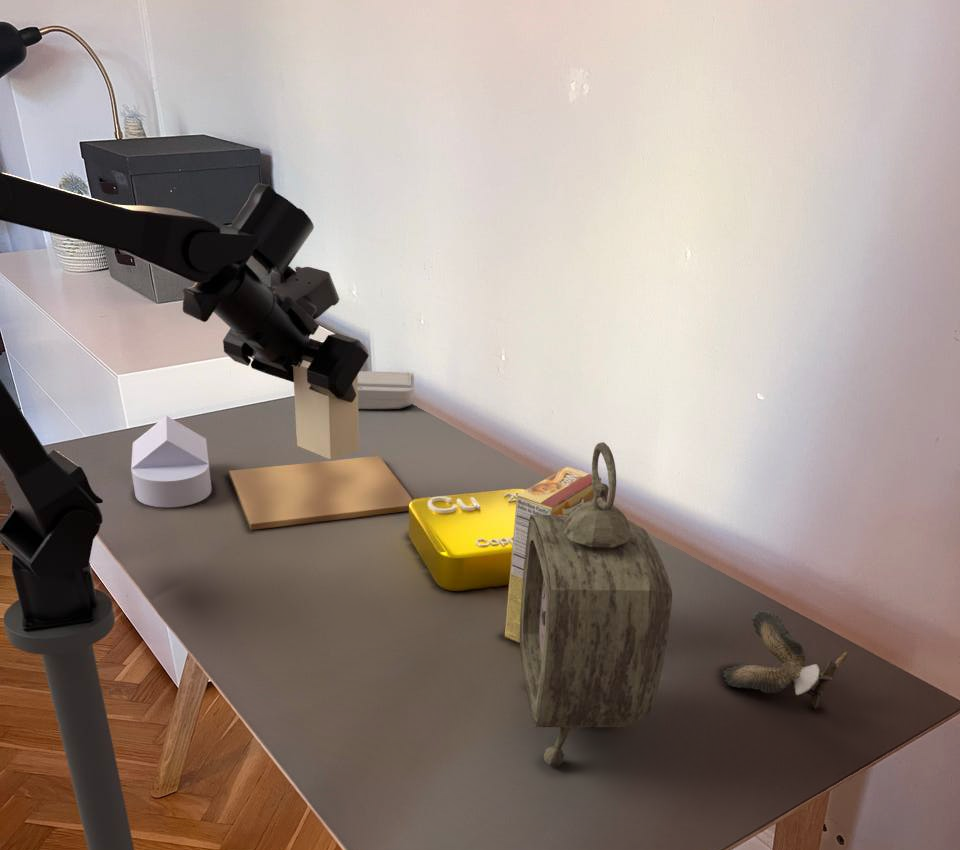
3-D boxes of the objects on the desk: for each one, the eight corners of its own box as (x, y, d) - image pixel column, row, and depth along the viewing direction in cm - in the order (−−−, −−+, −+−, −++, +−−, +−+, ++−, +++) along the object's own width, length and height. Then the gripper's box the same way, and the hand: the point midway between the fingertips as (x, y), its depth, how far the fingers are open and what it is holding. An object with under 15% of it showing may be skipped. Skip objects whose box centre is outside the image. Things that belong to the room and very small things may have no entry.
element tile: (441, 595, 98) (443, 554, 96) (404, 531, 110) (404, 494, 107) (573, 578, 103) (578, 538, 100) (524, 519, 114) (527, 482, 112)
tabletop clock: (514, 675, 86) (536, 412, 73) (611, 675, 87) (651, 415, 74) (533, 781, 74) (564, 489, 61) (646, 779, 75) (700, 491, 62)
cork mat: (250, 530, 108) (250, 524, 108) (229, 476, 121) (228, 470, 120) (416, 510, 115) (416, 504, 115) (379, 461, 128) (379, 455, 127)
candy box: (550, 602, 98) (564, 464, 90) (585, 616, 96) (603, 476, 88) (502, 638, 92) (513, 493, 84) (539, 653, 90) (554, 507, 82)
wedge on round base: (136, 467, 122) (134, 509, 111) (128, 417, 118) (125, 456, 108) (208, 463, 124) (213, 504, 114) (203, 413, 121) (207, 451, 110)
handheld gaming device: (413, 369, 150) (413, 393, 152) (320, 367, 149) (321, 390, 151) (413, 386, 143) (413, 411, 144) (315, 384, 141) (316, 408, 143)
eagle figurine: (839, 669, 88) (751, 623, 91) (857, 639, 81) (762, 590, 84) (800, 735, 86) (712, 686, 89) (815, 709, 79) (719, 657, 82)
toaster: (330, 460, 110) (327, 374, 104) (296, 445, 113) (292, 362, 107) (366, 447, 113) (365, 364, 108) (332, 434, 116) (330, 353, 111)
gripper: (353, 260, 93) (427, 352, 106) (235, 231, 103) (317, 318, 116) (295, 355, 92) (377, 435, 105) (182, 316, 101) (270, 394, 115)
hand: (335, 392), depth 110 cm, fingers closed on toaster, 6 cm apart
